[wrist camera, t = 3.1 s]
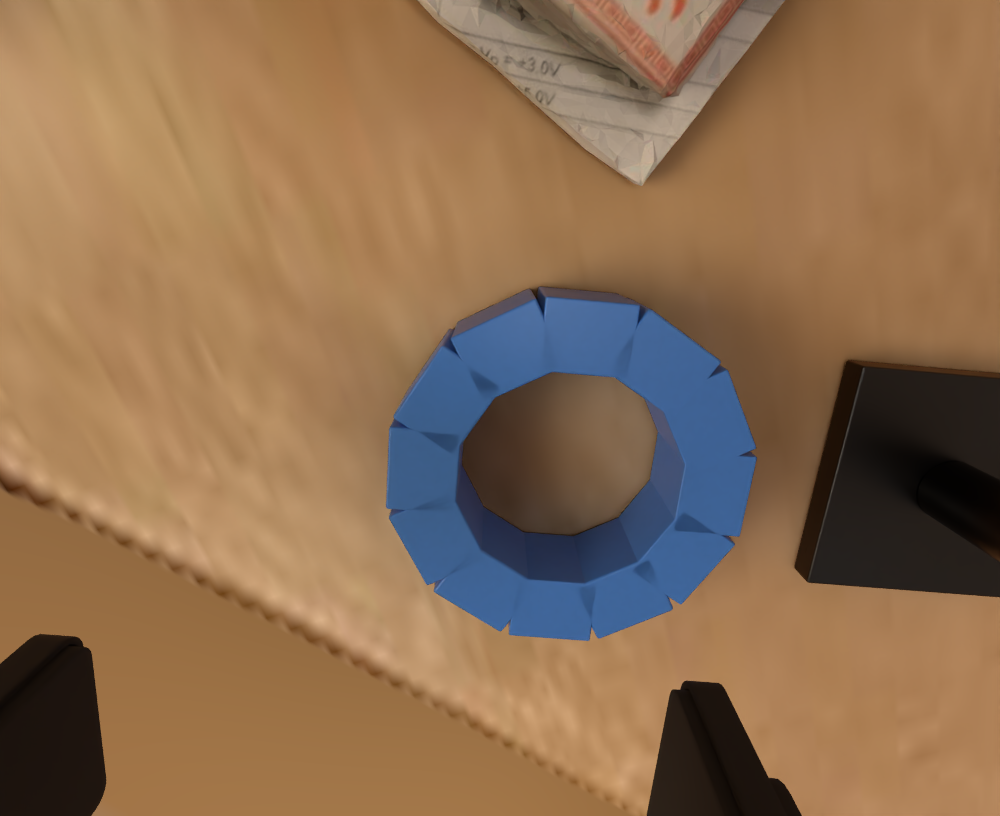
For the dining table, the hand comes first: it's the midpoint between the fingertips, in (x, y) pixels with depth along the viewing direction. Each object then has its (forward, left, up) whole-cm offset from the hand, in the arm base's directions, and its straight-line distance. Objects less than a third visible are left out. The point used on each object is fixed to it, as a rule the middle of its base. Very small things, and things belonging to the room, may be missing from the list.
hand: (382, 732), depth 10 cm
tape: (+4, 0, -15) cm, 15 cm away
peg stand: (+19, 0, -15) cm, 24 cm away
